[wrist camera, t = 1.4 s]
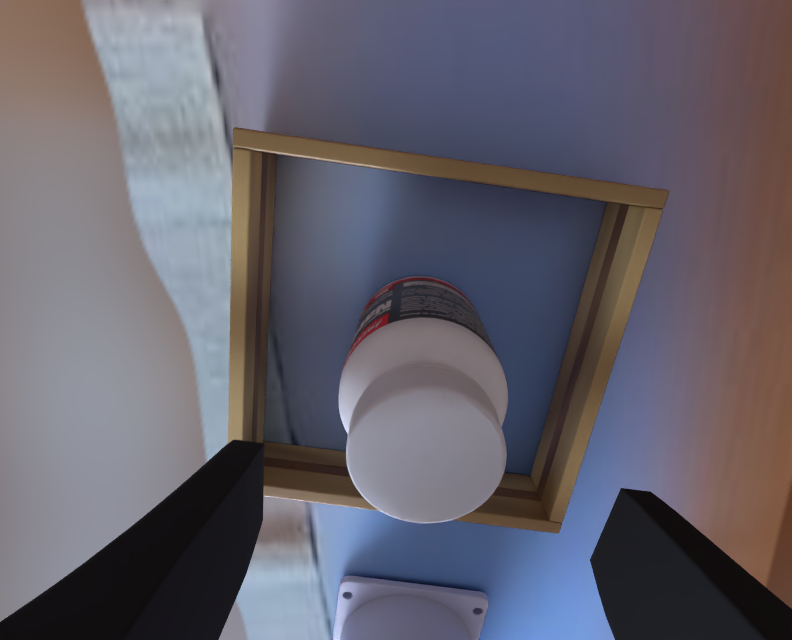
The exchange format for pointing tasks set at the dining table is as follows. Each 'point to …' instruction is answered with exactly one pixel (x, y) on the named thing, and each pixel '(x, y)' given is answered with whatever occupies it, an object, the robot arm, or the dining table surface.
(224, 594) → the robot arm
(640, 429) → the dining table surface
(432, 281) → the pill bottle
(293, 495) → the picture frame
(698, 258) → the dining table surface
